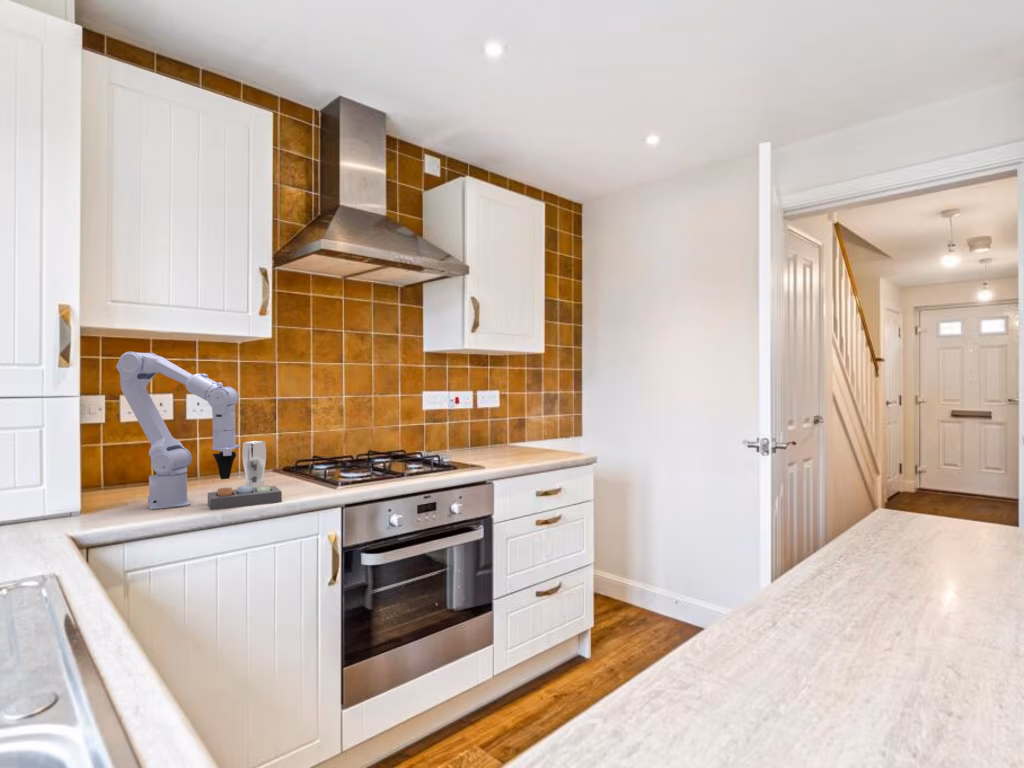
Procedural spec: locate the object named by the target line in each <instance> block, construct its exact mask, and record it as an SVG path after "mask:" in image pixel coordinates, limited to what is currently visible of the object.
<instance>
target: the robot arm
mask: <svg viewBox="0 0 1024 768" xmlns="http://www.w3.org/2000/svg"><path fill="white" fill-rule="evenodd" d="M115 368H116V370H117V371H118V372H119V373H118V374H119V379H120V380H119V381H120V390H121V392H122V394H123V396H124V397H125V400H126V401H127V403H128V405H129V407H130V408H131V410H132V413H133V414H134V416H135V417H136V419H137V421H138V424H139V425H140V427H141V429H142V431H143V433H144V435H145V436H146V438H147V441H148V442H149V444H150V445H151V446H150V448H149V451H148V456H149V457H150V466H151V469H152V470H153V471H154V472H155V473H156V474H154V475H153V474H151V475H149V476H148V487H149V490H148V493H149V494H148V496H147V503H149V510H158V509H168V508H177V507H187V506H190V505H191V504H190V500H189V499H188V473H187V472H188V467H190V465H191V464H192V459H193V458H192V457H193V456H192V454H191V451H190V450H188V449H187V448H185V447H184V445H183V444H182V442H181V441H180V440H178V439H176V438H175V437H173V436H172V433H171V432H170V430H169V428H168V426H167V424H166V423H165V421H164V419H163V417H162V414H160V412H159V410H158V407H156V404H155V403H154V401H153V399H152V397H151V395H150V393H149V392H148V389H147V387H148V385H149V383H150V382H151V380H152V379H154V377H155V376H156V374H160V375H161V374H162V375H163V376H166V377H167V378H169V379H173V380H174V381H176V382H179V383H181V384H182V385H185V389H186V390H187V391H188V392H189V393H191V394H193V395H194V396H197V397H198V398H201V399H202V400H204V401H206V402H208V403H207V404H209V405H210V407H211V413H212V446H211V450H213V451H218V452H219V453H213V454H212V456H213V457H214V459H215V462H216V465H217V469H218V474H219V478H220V480H228V479H229V480H230V477H231V473H232V467H233V463H234V460H236V459H235V458H236V457H237V454H236V452H235V451H233V450H235V449H239V448H241V444H236V443H237V442H236V441H237V440H236V436H237V435H236V434H237V433H236V405H237V403H238V402H239V399H240V396H239V393H238V391H237V390H236V389H235V388H234V387H232V386H223V385H224V384H223V382H220V381H219V382H217V381H215V380H213V379H211V378H209V375H208V374H207V373H195V374H192V373H190V372H188V370H186V369H183V368H181V367H180V366H178V365H176V364H175V363H173V362H171V361H170V360H168V359H166V358H165V357H164V356H161V355H158V354H156V353H154V352H136V351H126V352H124V353H123V354H121V355H120V357H119V359H118V361H117V363H116V365H115Z"/></svg>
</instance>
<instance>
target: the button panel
mask: <svg viewBox="0 0 1024 768" xmlns="http://www.w3.org/2000/svg"><path fill="white" fill-rule="evenodd" d="M268 487H270V491H264V492H257V488H252V493H245V494H238V489H232V495H226V496H218V491H211V492H207V505H208V507H209V509H210V511H214V510H213V509H217V510H222V509H223V510H225V509H231V508H232V509H233V508H241V507H249V506H250V507H251V506H256V505H267V504H274V503H282V502H283V499H282V497H283V496H282V490H281V489H279V487H277V486H276V485H271V486H268ZM259 488H260V487H259Z"/></svg>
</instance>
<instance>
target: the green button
mask: <svg viewBox="0 0 1024 768" xmlns="http://www.w3.org/2000/svg"><path fill="white" fill-rule="evenodd" d="M264 491H270V487H269V486H265V487H260V488H257V492H264Z"/></svg>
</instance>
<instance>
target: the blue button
mask: <svg viewBox="0 0 1024 768" xmlns="http://www.w3.org/2000/svg"><path fill="white" fill-rule="evenodd" d="M237 490H238V494H245V493H252V486H245V485H240V486H238V487H237Z"/></svg>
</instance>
